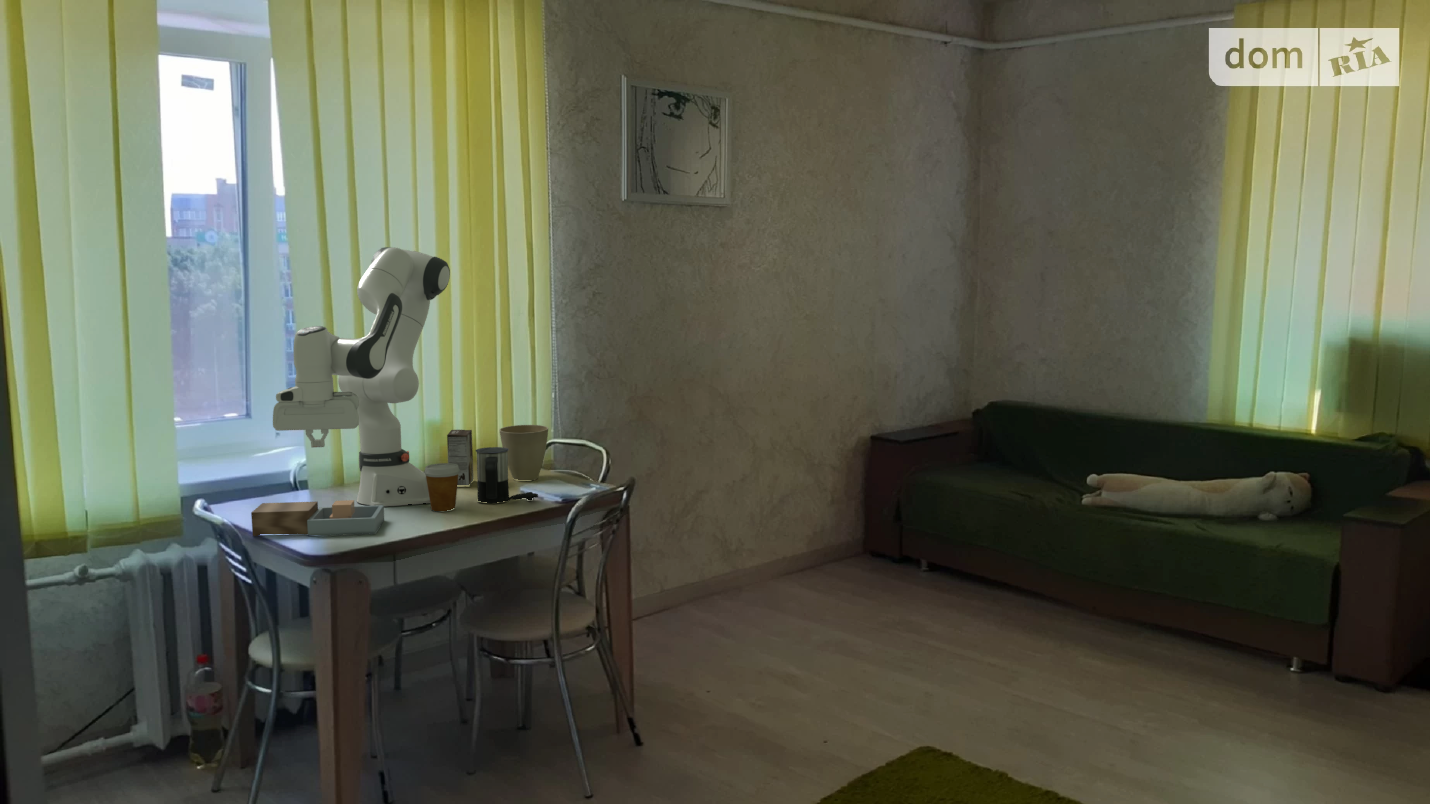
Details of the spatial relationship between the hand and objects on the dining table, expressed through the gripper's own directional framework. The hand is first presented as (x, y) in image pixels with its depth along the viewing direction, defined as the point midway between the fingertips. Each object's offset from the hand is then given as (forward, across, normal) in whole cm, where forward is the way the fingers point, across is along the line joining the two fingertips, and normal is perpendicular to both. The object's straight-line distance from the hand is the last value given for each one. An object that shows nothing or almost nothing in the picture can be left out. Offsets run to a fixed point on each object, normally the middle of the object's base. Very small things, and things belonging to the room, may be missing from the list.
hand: (318, 447), depth 265 cm
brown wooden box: (+21, +9, 0) cm, 23 cm away
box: (+21, -6, 0) cm, 22 cm away
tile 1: (+17, -5, 0) cm, 18 cm away
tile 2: (+17, -5, 0) cm, 18 cm away
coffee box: (+22, -30, -49) cm, 61 cm away
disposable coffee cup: (+22, -28, -17) cm, 39 cm away
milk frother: (+22, -45, -24) cm, 55 cm away
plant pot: (+22, -49, -53) cm, 76 cm away
